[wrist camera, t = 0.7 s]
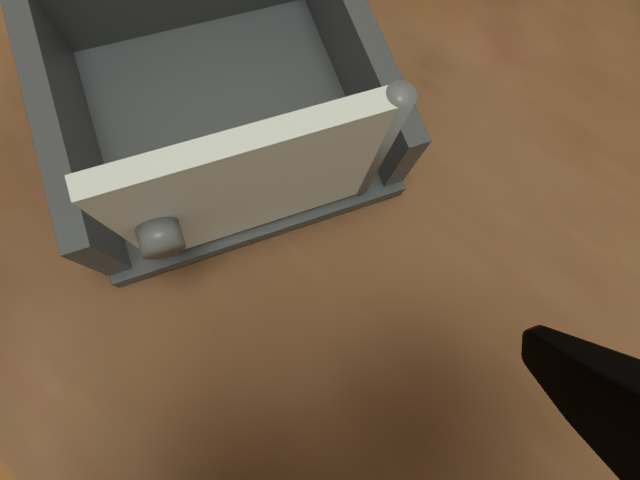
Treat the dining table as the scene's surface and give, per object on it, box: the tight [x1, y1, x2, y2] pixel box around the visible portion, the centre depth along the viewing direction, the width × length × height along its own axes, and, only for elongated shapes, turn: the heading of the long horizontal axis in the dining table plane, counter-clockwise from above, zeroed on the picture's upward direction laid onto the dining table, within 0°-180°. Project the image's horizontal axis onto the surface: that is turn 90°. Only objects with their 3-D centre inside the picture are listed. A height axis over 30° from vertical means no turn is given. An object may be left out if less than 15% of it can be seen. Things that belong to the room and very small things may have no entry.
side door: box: [64, 80, 417, 260], centre depth 19 cm, size 13×2×9 cm, turn 110°
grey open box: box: [0, 0, 431, 287], centre depth 23 cm, size 18×17×7 cm
